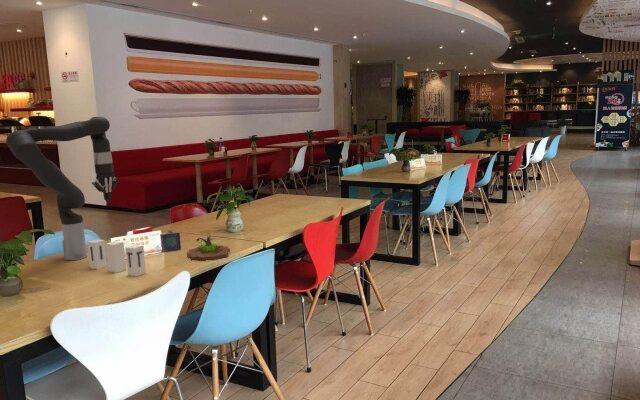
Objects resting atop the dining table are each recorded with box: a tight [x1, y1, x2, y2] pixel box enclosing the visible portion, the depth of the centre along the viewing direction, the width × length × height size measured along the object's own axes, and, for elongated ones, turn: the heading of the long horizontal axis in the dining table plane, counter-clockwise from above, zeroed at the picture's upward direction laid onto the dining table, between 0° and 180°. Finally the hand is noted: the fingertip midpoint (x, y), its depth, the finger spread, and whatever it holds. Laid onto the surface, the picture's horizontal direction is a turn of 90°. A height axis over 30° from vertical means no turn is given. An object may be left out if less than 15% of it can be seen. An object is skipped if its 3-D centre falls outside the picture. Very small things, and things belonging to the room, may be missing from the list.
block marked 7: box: [124, 244, 147, 277], centre depth 215 cm, size 5×5×12 cm
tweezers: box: [198, 236, 217, 244], centre depth 278 cm, size 18×5×2 cm, turn 157°
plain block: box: [105, 240, 127, 274], centre depth 221 cm, size 5×5×12 cm
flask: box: [159, 228, 182, 253], centre depth 257 cm, size 9×3×11 cm, turn 109°
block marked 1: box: [86, 238, 108, 270], centre depth 227 cm, size 5×5×12 cm
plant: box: [186, 233, 231, 262], centre depth 246 cm, size 20×20×11 cm
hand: (107, 200), depth 235 cm, fingers closed
